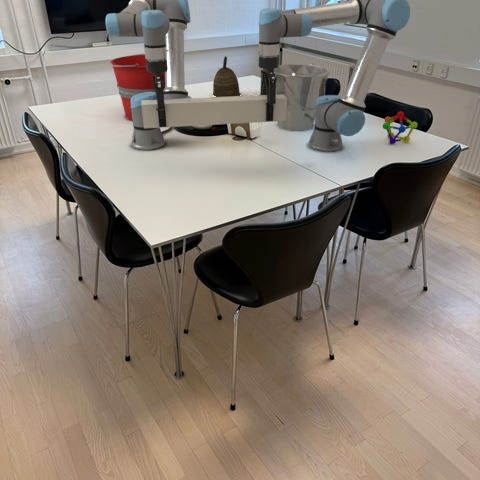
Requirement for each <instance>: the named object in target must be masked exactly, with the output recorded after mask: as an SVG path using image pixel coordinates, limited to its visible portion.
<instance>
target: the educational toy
mask: <svg viewBox="0 0 480 480" xmlns="http://www.w3.org/2000/svg"><path fill="white" fill-rule="evenodd" d="M397 119H399V124H400V125H399V127H398V126H393V125H391V124H392V123H394V122H395V121H396V120H397ZM403 120H404V121H405V122H407V123H408V124H409V125H407V126H404V123H403ZM417 127H418V122H417V121H411V120H410V119H409V118H408V117H406V116H405V113H404V112H403V111H401V110H400V111H398V112H397V114H396V115H394V116H391V117H390V116H386V117H385V118H384V122H383V123H382V129H383V130H386V132H387V138H388V142H389V145H395V144H396V143H397V142H402V141H403V142H404V143H409V142H410V140H411V138H410V136H411V134H412V132H413V131H414V130H415V129H417ZM392 129H393V130H397V131H398V132H396V134H395V133H394V132H392ZM408 129H409V131H408V133H407V134H406V135H404V136H401V134H403V133H405V132H406V130H408ZM399 135H400V136H399Z"/></svg>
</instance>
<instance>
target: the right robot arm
mask: <svg viewBox="0 0 480 480" xmlns="http://www.w3.org/2000/svg"><path fill="white" fill-rule="evenodd" d="M410 16H411V7H410V3H409V0H348V1H340V2H335V3H334V2H333V3H328V4H320V5H313V6H307V7H305V6H304V7H299V8H291V9H285V10H282V9H280V8H276V7H275V8H262V9H260V11H259V16H258V18H259V19H258V37H259V38H258V55H259V56H258V67H259V68H260V69H261V70H260V93H259V94H260V95H267V103H265V104H266V121H273V110H274V104H276V79H277V78H276V76H275V73H274V69H275V68H278V66H279V65H280V57H279V55H280V49H281V48H282V46H281V45H280V44H281V41H280V40H281V39H283V38H302V37H307V36H309V35H311V32H312V30H313V28H314V29H315V28H319V27H326V26H334V25H341V24H347V23H349V24H350V25H351V26H353V25H365V26H366V28H365V29H366V33H367V36H366V39H365V41H364V43H363V46H362V49H361V51H360V53H359V56H358V58H357V61H356V64H355V67H354V68H353V71H352V74H351V76H350V78H349V81H348V84H347V86H346V88H345V91H344V94H343V95H337V94H327V95H326V94H325V96H324V95H322V96H320V97H319V98H318V99H317V104H316V115H315V120H314V127H313V128H314V129H313V132H312V133H311V136H310V138H309V140H308V147H309V148H310V149H312V150H314V151H316V152H317V151H318V152H323V153H324V152H325V153H333V152H338V151H340V150H341V149H342V148H343V139H342V136H344V137H352V136H355V135H358V133H360V131H361V130H363V128H364V127H365V123H366V117H365V113H364V112H365V109H366V107H367V106H366V104H365V99H366V97H367V95H368V93H369V90H370V87H371V85H372V84H373V81H374V78H375V75H376V73H377V71H378V69H379V66H380V63H381V61H382V59H383V57H384V54H385V51H386V49H387V47H388V44H389V42H390V41H392V40H393V39H395V38H396V35H397V33H398V31H401V30H402V29H403V28H405V27H406V25H407V24H408V22H409V19H410Z"/></svg>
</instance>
